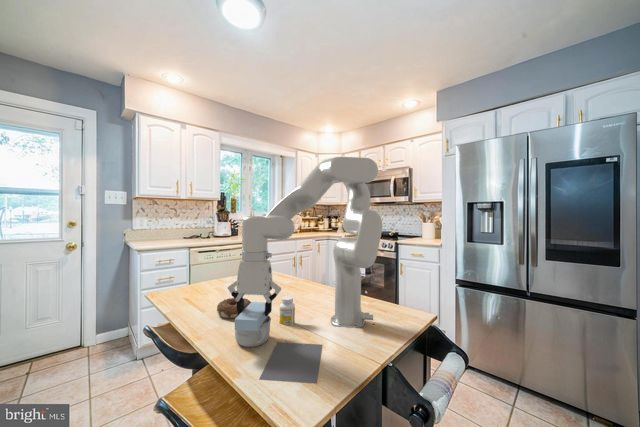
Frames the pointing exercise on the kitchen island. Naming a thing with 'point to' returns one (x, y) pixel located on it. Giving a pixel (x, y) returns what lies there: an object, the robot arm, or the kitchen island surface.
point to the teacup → (254, 335)
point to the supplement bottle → (287, 311)
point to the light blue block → (251, 317)
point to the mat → (293, 363)
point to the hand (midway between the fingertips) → (254, 313)
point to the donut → (230, 307)
